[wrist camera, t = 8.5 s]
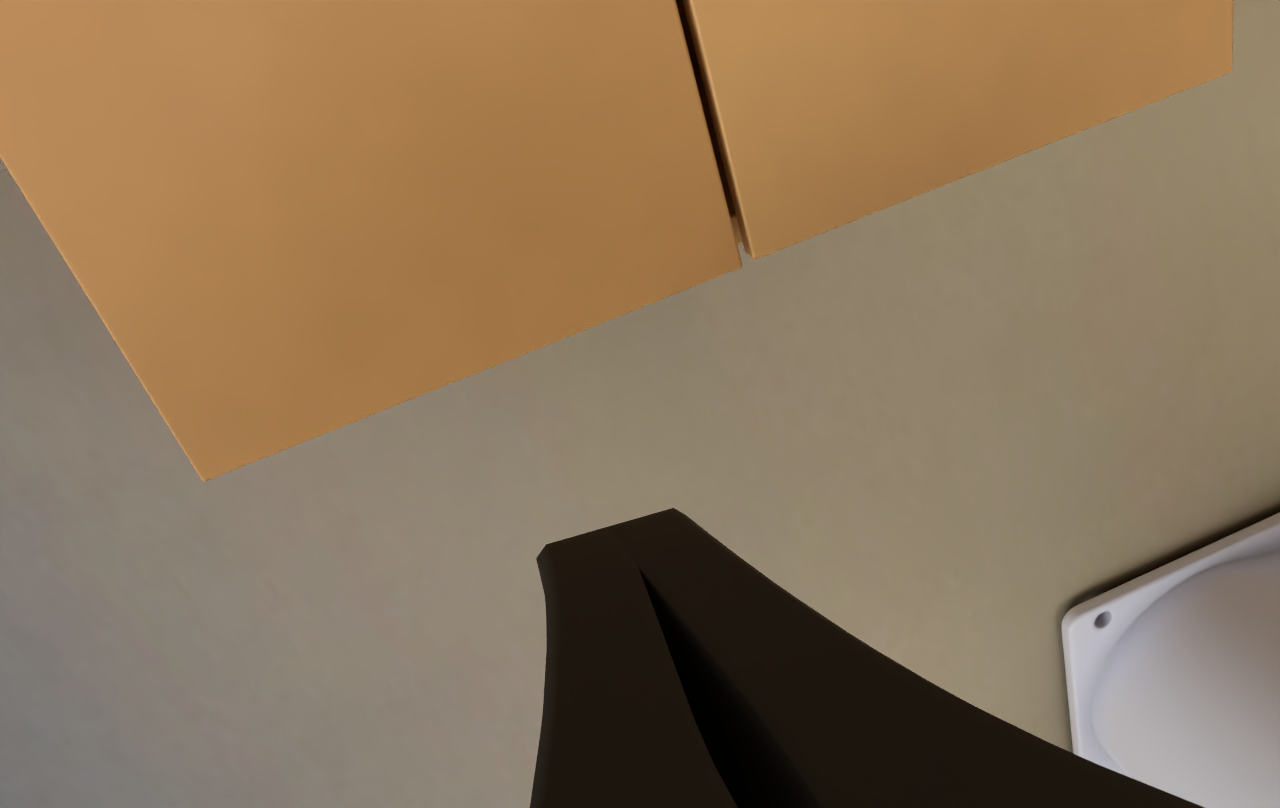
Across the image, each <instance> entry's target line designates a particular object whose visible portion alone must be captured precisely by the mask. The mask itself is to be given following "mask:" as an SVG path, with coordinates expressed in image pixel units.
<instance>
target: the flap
mask: <svg viewBox="0 0 1280 808" xmlns="http://www.w3.org/2000/svg"><path fill="white" fill-rule="evenodd" d="M683 4H684V8H685V12H686V16H687V20H688V24H689V28H690V32H691V36H692V40H693V44H694V48H695V52H696V56H697V60H698V64H699V68H700V72H701V76H702V80H703V84H704V88H705V92H706V96H707V100H708V104H709V109H710V113H711V117H712V121H713V125H714V129H715V133H716V137H717V141H718V145H719V149H720V153H721V157H722V161H723V165H724V169H725V173H726V177H727V181H728V185H729V189H730V193H731V197H732V201H733V205H734V209H735V213H736V217H737V221H738V225H739V229H740V233H741V237H742V241H743V245H744V249H745V252H746V253H747V254H748V255H750V256H751V257H752V258H753V259H758V258H760V257H763V256H765V255H768V254H770V253H773V252H775V251H778V250H780V249H783V248H786V247H788V246H791V245H793V244H796V243H798V242H801V241H803V240H806V239H808V238H811V237H813V236H816V235H818V234H821V233H824V232H826V231H829V230H831V229H834V228H836V227H839V226H841V225H844V224H846V223H849V222H851V221H854V220H857V219H859V218H862V217H864V216H867V215H869V214H872V213H874V212H877V211H879V210H882V209H884V208H887V207H889V206H892V205H895V204H897V203H900V202H902V201H905V200H907V199H910V198H912V197H915V196H917V195H920V194H922V193H925V192H928V191H930V190H933V189H935V188H938V187H940V186H943V185H945V184H948V183H950V182H953V181H955V180H958V179H960V178H963V177H966V176H968V175H971V174H973V173H976V172H978V171H981V170H983V169H986V168H988V167H991V166H993V165H996V164H999V163H1001V162H1004V161H1006V160H1009V159H1011V158H1014V157H1016V156H1019V155H1021V154H1024V153H1026V152H1029V151H1032V150H1034V149H1037V148H1039V147H1042V146H1044V145H1047V144H1049V143H1052V142H1054V141H1057V140H1059V139H1062V138H1064V137H1067V136H1070V135H1072V134H1075V133H1077V132H1080V131H1082V130H1085V129H1087V128H1090V127H1092V126H1095V125H1097V124H1100V123H1103V122H1105V121H1108V120H1110V119H1113V118H1115V117H1118V116H1120V115H1123V114H1125V113H1128V112H1130V111H1133V110H1135V109H1138V108H1141V107H1143V106H1146V105H1148V104H1151V103H1153V102H1156V101H1158V100H1161V99H1163V98H1166V97H1168V96H1171V95H1174V94H1176V93H1179V92H1181V91H1184V90H1186V89H1189V88H1191V87H1194V86H1196V85H1199V84H1201V83H1204V82H1206V81H1209V80H1212V79H1214V78H1217V77H1219V76H1222V75H1224V74H1227V73H1229V72H1231V71H1232V50H1233V0H683Z"/></svg>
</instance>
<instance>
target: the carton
mask: <svg viewBox="0 0 1280 808" xmlns="http://www.w3.org/2000/svg"><path fill="white" fill-rule="evenodd" d="M0 158H1V159H2V161H3V162H4V164H5V166H6V167H7V169H8V170H9V172H10V174H11V175H12V177H13V178H14V180H15V182H16V183H17V185H18V186H19V188H20V190H21V191H22V193H23V194H24V196H25V198H26V199H27V201H28V202H29V204H30V206H31V207H32V209H33V210H34V212H35V214H36V215H37V217H38V218H39V220H40V222H41V223H42V225H43V226H44V228H45V230H46V231H47V233H48V234H49V236H50V238H51V239H52V241H53V242H54V244H55V246H56V247H57V249H58V250H59V252H60V254H61V255H62V257H63V259H64V260H65V262H66V263H67V265H68V267H69V268H70V270H71V271H72V273H73V275H74V276H75V278H76V279H77V281H78V283H79V284H80V286H81V287H82V289H83V291H84V292H85V294H86V295H87V297H88V299H89V300H90V302H91V303H92V305H93V307H94V308H95V310H96V311H97V313H98V315H99V316H100V318H101V319H102V321H103V323H104V324H105V326H106V327H107V329H108V331H109V332H110V334H111V335H112V337H113V339H114V340H115V342H116V343H117V345H118V347H119V348H120V350H121V351H122V353H123V355H124V356H125V358H126V359H127V361H128V363H129V364H130V366H131V367H132V369H133V371H134V372H135V374H136V375H137V377H138V379H139V380H140V382H141V383H142V385H143V387H144V388H145V390H146V391H147V393H148V395H149V396H150V398H151V400H152V401H153V403H154V404H155V406H156V408H157V409H158V411H159V412H160V414H161V416H162V417H163V419H164V420H165V422H166V424H167V425H168V427H169V428H170V430H171V432H172V433H173V435H174V436H175V438H176V440H177V441H178V443H179V444H180V446H181V448H182V449H183V451H184V452H185V454H186V456H187V457H188V459H189V460H190V462H191V464H192V465H193V467H194V468H195V470H196V472H197V473H198V475H199V476H200V478H201V479H202V480H203V481H207V480H209V479H212V478H214V477H217V476H219V475H222V474H224V473H227V472H229V471H232V470H234V469H237V468H239V467H242V466H244V465H247V464H249V463H252V462H254V461H257V460H259V459H262V458H264V457H267V456H269V455H272V454H274V453H277V452H280V451H282V450H285V449H287V448H290V447H292V446H295V445H297V444H300V443H302V442H305V441H307V440H310V439H312V438H315V437H317V436H320V435H322V434H325V433H327V432H330V431H332V430H335V429H337V428H340V427H342V426H345V425H347V424H350V423H352V422H355V421H357V420H360V419H362V418H365V417H367V416H370V415H372V414H375V413H377V412H380V411H382V410H385V409H387V408H390V407H392V406H395V405H397V404H400V403H402V402H405V401H407V400H410V399H412V398H415V397H417V396H420V395H422V394H425V393H427V392H430V391H432V390H435V389H437V388H440V387H442V386H445V385H447V384H450V383H452V382H455V381H457V380H460V379H462V378H465V377H467V376H470V375H472V374H475V373H478V372H480V371H483V370H485V369H488V368H490V367H493V366H495V365H498V364H500V363H503V362H505V361H508V360H510V359H513V358H515V357H518V356H520V355H523V354H525V353H528V352H530V351H533V350H535V349H538V348H540V347H543V346H545V345H548V344H550V343H553V342H555V341H558V340H560V339H563V338H565V337H568V336H570V335H573V334H575V333H578V332H580V331H583V330H585V329H588V328H590V327H593V326H595V325H598V324H600V323H603V322H605V321H608V320H610V319H613V318H615V317H618V316H620V315H623V314H625V313H628V312H630V311H633V310H635V309H638V308H640V307H643V306H645V305H648V304H650V303H653V302H655V301H658V300H660V299H663V298H665V297H668V296H671V295H673V294H676V293H678V292H681V291H683V290H686V289H688V288H691V287H693V286H696V285H698V284H701V283H703V282H706V281H708V280H711V279H713V278H716V277H718V276H721V275H723V274H726V273H728V272H731V271H733V270H736V269H738V268H740V267H742V262H741V258H740V254H739V250H738V246H737V245H738V244H740V243H743V241H742V237H741V233H740V229H739V225H738V221H737V217H736V213H735V209H734V205H733V201H732V197H731V193H730V189H729V185H728V181H727V177H726V173H725V169H724V165H723V161H722V157H721V153H720V149H719V145H718V141H717V137H716V133H715V129H714V125H713V121H712V117H711V113H710V109H709V104H708V100H707V96H706V92H705V88H704V84H703V80H702V76H701V72H700V68H699V64H698V60H697V56H696V52H695V48H694V44H693V40H692V36H691V32H690V28H689V24H688V20H687V16H686V12H685V8H684V4H683V0H0Z"/></svg>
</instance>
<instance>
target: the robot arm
mask: <svg viewBox="0 0 1280 808" xmlns="http://www.w3.org/2000/svg"><path fill="white" fill-rule="evenodd" d="M536 559H537V564H538V568H539V572H540V576H541V581H542V585H543V589H544V594H545V601H546V622H547V654H546V670H545V687H544V704H543V716H542V726H541V733H540V740H539V747H538V755H537V762H536V769H535V776H534V783H533V790H532V797H531V804H530V808H1280V512H1279V513H1277V514H1275V515H1273V516H1271V517H1268V518H1266V519H1264V520H1262V521H1260V522H1258V523H1255V524H1253V525H1251V526H1249V527H1247V528H1244V529H1242V530H1240V531H1238V532H1236V533H1234V534H1231V535H1229V536H1227V537H1225V538H1223V539H1220V540H1218V541H1216V542H1214V543H1212V544H1210V545H1207V546H1205V547H1203V548H1201V549H1199V550H1196V551H1194V552H1192V553H1190V554H1188V555H1185V556H1183V557H1181V558H1179V559H1177V560H1175V561H1172V562H1170V563H1168V564H1166V565H1164V566H1161V567H1159V568H1157V569H1155V570H1153V571H1151V572H1148V573H1146V574H1144V575H1142V576H1140V577H1137V578H1135V579H1133V580H1131V581H1129V582H1127V583H1124V584H1122V585H1120V586H1118V587H1116V588H1113V589H1111V590H1109V591H1107V592H1105V593H1103V594H1100V595H1098V596H1096V597H1094V598H1092V599H1089V600H1087V601H1085V602H1083V603H1081V604H1078V605H1076V606H1075V607H1073V608H1071V609H1070V610H1069V611H1068V612H1067V613H1066V614H1065V616H1064V618H1063V620H1062V625H1061V629H1062V640H1063V650H1064V661H1065V671H1066V682H1067V692H1068V703H1069V713H1070V724H1071V734H1072V745H1073V753H1071V752H1069V751H1066V750H1064V749H1062V748H1060V747H1057V746H1055V745H1053V744H1051V743H1049V742H1046V741H1044V740H1042V739H1040V738H1038V737H1036V736H1034V735H1032V734H1030V733H1028V732H1026V731H1024V730H1022V729H1020V728H1018V727H1016V726H1014V725H1012V724H1009V723H1007V722H1005V721H1003V720H1001V719H999V718H997V717H995V716H993V715H991V714H989V713H987V712H985V711H983V710H981V709H979V708H977V707H975V706H973V705H971V704H969V703H967V702H966V701H964V700H962V699H960V698H958V697H956V696H954V695H953V694H951V693H949V692H947V691H945V690H944V689H942V688H940V687H938V686H936V685H935V684H933V683H931V682H929V681H927V680H926V679H924V678H922V677H921V676H919V675H917V674H915V673H914V672H912V671H910V670H909V669H907V668H905V667H904V666H902V665H900V664H899V663H897V662H895V661H893V660H892V659H890V658H888V657H887V656H885V655H883V654H882V653H880V652H878V651H877V650H875V649H873V648H872V647H870V646H869V645H867V644H865V643H864V642H862V641H861V640H859V639H857V638H856V637H854V636H853V635H851V634H850V633H848V632H846V631H845V630H843V629H842V628H840V627H839V626H837V625H836V624H834V623H833V622H831V621H830V620H828V619H827V618H825V617H824V616H822V615H821V614H819V613H818V612H816V611H815V610H813V609H812V608H810V607H809V606H808V605H806V604H805V603H803V602H802V601H800V600H799V599H797V598H796V597H794V596H793V595H791V594H790V593H788V592H787V591H786V590H784V589H783V588H781V587H780V586H778V585H777V584H776V583H774V582H773V581H771V580H770V579H769V578H767V577H766V576H765V575H763V574H762V573H760V572H759V571H758V570H756V569H755V568H754V567H752V566H751V565H750V564H748V563H747V562H746V561H744V560H743V559H741V558H740V557H739V556H737V555H736V554H735V553H734V552H732V551H731V550H730V549H728V548H727V547H726V546H724V545H723V544H722V543H720V542H719V541H718V540H717V539H715V538H714V537H713V536H711V535H710V534H709V533H708V532H706V531H705V530H704V529H703V528H701V527H700V526H699V525H697V524H696V523H695V522H694V521H692V520H691V519H690V518H689V517H687V516H686V515H684V514H683V513H681V512H679V511H678V510H676V509H674V508H672V509H668V510H665V511H661V512H658V513H654V514H651V515H647V516H644V517H640V518H637V519H634V520H630V521H627V522H623V523H620V524H616V525H613V526H609V527H606V528H602V529H599V530H595V531H592V532H588V533H585V534H581V535H578V536H574V537H571V538H567V539H564V540H560V541H557V542H553V543H550V544H546V546H545V547H544V548H543V550H542V551H541V553H540V554H539V555H538V557H537V558H536Z"/></svg>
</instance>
